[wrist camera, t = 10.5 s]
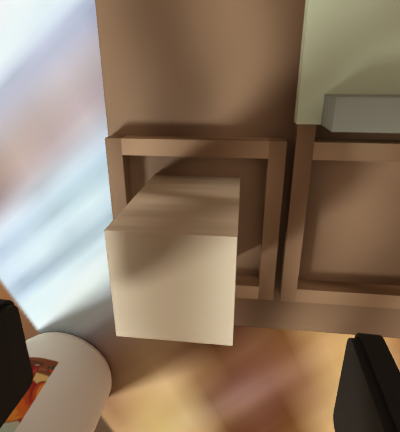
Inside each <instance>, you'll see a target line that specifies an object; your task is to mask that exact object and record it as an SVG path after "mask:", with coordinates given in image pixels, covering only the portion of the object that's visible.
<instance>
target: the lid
mask: <svg viewBox="0 0 400 432" xmlns="http://www.w3.org/2000/svg"><path fill="white" fill-rule="evenodd" d="M294 122H295V123H296V124H321V125H322V126H324V127H325V128H327V129H328V130H330V131H331V132H364V133H400V0H306V2H305V12H304V23H303V33H302V44H301V54H300V64H299V75H298V85H297V96H296V106H295V116H294Z"/></svg>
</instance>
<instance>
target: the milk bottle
mask: <svg viewBox="0 0 400 432" xmlns="http://www.w3.org/2000/svg"><path fill="white" fill-rule="evenodd" d="M26 345H27V349H28V354H29V358H30V362H31V367H32V371H33V381H32V384H31V386H30V388H29V390H28V391H27V392H26V394H25V395H24V396H23V398H22V399H21V401H20V402H19V403H18V405H17V406H16V407H15V409H14V410H13V412H12V413H11V414H10V416H9V417H8V419H7V420H6V421H5V423H4V424H3V425H2V427H1V428H0V432H94V430H95V428H96V425H97V423H98V420H99V418H100V416H101V413H102V411H103V409H104V406H105V404H106V401H107V399H108V396H109V394H110V391H111V386H112V379H111V371H110V368H109V365H108V363H107V362H106V360H105V358H104V357H103V356H102V354H101V353H100V352H99V351H98V350H97V349H96V348H95V347H93V346H92V345H91V344H89V343H88V342H86V341H85V340H83V339H81V338H78V337H76V336H74V335H70V334H67V333H60V332H46V333H42V334H38V335H36V336H34V337H32V338H30V339H28V340H26Z"/></svg>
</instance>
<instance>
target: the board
mask: <svg viewBox="0 0 400 432" xmlns="http://www.w3.org/2000/svg"><path fill="white" fill-rule="evenodd" d="M305 2H306V0H95V5H96V15H97V25H98V35H99V45H100V55H101V66H102V76H103V86H104V96H105V106H106V116H107V127H108V137H106V138H105V145H106V154H107V164H108V174H109V184H110V193H111V203H112V213H113V220H114V219H115V218H116V217H117V216H118V215H119V213H120V212H121V211H122V210H123V209H124V208H125V207H126V206H127V205H128V203H129V202H130V201H131V200H132V199H133V198H134V197H135V196H136V194H137V193H138V192H139V191H140V190H141V189H142V188H143V187H144V186H145V184H146V183H147V182H148V181H149V180H150V179H151V178H152V177H153V175H162V176H194V177H226V178H240V197H239V220H238V244H237V266H236V286H235V307H234V325H237V326H250V327H263V328H275V329H288V330H301V331H314V332H327V333H340V334H353V335H356V334H357V333H365V334H375V335H381V336H382V337H391V338H400V133H364V132H331V131H330V130H328V129H327V128H325V127H324V126H322V125H321V124H296V123H295V122H294V116H295V106H296V96H297V85H298V75H299V64H300V54H301V44H302V33H303V23H304V12H305Z"/></svg>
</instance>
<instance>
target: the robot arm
mask: <svg viewBox="0 0 400 432" xmlns="http://www.w3.org/2000/svg"><path fill="white" fill-rule="evenodd" d="M32 381H33V371H32V367H31V362H30V358H29V354H28V349H27V345H26V341H25V336H24V332H23V328H22V323H21V319H20V315H19V310H18V308H17V307H16V306H14V303H13V302H12V301H10V300H3V299H0V428H1V427H2V425H3V424H4V423H5V421H6V420H7V419H8V417H9V416H10V414H11V413H12V412H13V410H14V409H15V407H16V406H17V405H18V403H19V402H20V401H21V399H22V398H23V396H24V395H25V394H26V392H27V391H28V390H29V388H30V386H31V384H32ZM333 421H334V428H335V432H400V372H399V370H398V367H397V365H396V363H395V361H394V359H393V357H392V355H391V353H390V351H389V349H388V347H387V345H386V343H385V341H384V339H383V337H382V336H381V335H375V334H365V333H357V334H356V335H355V338H349V339H348V341H347V345H346V350H345V355H344V361H343V366H342V371H341V376H340V381H339V387H338V392H337V397H336V402H335V407H334V414H333Z"/></svg>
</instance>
